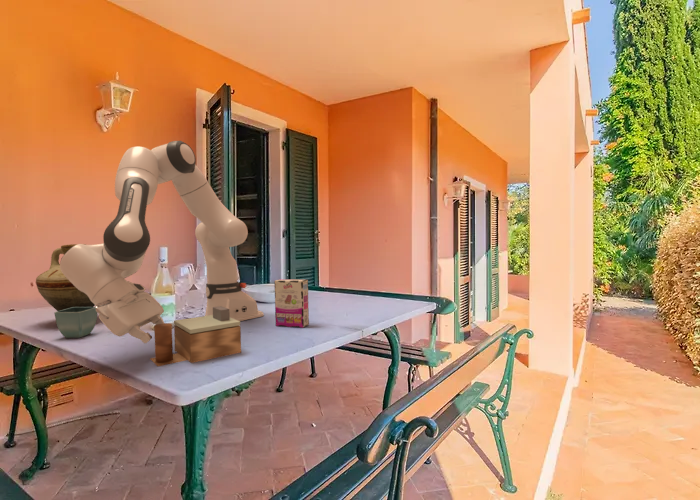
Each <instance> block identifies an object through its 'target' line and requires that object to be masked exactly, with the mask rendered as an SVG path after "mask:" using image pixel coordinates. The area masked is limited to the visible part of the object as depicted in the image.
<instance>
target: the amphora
mask: <svg viewBox="0 0 700 500" xmlns="http://www.w3.org/2000/svg"><path fill="white" fill-rule="evenodd" d="M83 244H84V245H87V243H86V244H85V243H83ZM75 245H77V243H76V244H73V243H72V244H64V245H61V246H60V247H59V248H56V249H54V250H52V251H53V252H52V253H51V257H50V265H49V269H48V270H46V271H44V272H42V273H40V274H39V275H37V276H36V278H35V284H36V285H35V286H36V288H37V291H38V293H39V294H40V296H41V297H42V298H43V299H44V300H45V301H46V302H47V303H48V304H49V305H50V306H51V307H52V308H53V309H54V310H55V311H56V312H57V311H61V310H64V309H68V308H72V307H96V305H95V304H94V303H93V302H91V300H90V298H89V297H88V296H87V295H86V294H85V293H84V292H81V291H80V290H78V289H77V288H76V287H75V286H74V285H73V284H72V283H71V282H70V281H69V280H68V279H67V278H66V277H65V275H64V274H63V273H62V271H61V269H60V262H59V261H60V255H64V254H65V253H66V252H67V251H68V250H69V249H70V248H71V247H73V246H75Z"/></svg>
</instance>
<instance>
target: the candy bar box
mask: <svg viewBox="0 0 700 500" xmlns="http://www.w3.org/2000/svg"><path fill="white" fill-rule="evenodd" d="M273 283H274V307H275V308H274V309H275V312H274V313H275V326H276V327H284V328H286V327H287V328H300V329H301V328H302V329H303V328H305V327H308V326H309V325H310V317H309V314H310V313H309V279H287V278H286V279H284V278H283V279H282V278H281V279H276V280H274V282H273Z"/></svg>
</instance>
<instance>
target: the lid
mask: <svg viewBox="0 0 700 500" xmlns="http://www.w3.org/2000/svg"><path fill="white" fill-rule="evenodd" d="M173 325H176V326H178V327H180V328H181V329H183V330H185V331H187V332H188V333H190V334H192V333H198V332H204V331H210V330H216V329H222V328H228V327H233V326H241V321H237V320H235V319H232V318H230V313H229V309H228V308H225V307H222V306H218V307H213V315H209V316H205V315H204V316H198V317H197V316H195V317H190V318H183V319H175V320H173Z"/></svg>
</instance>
